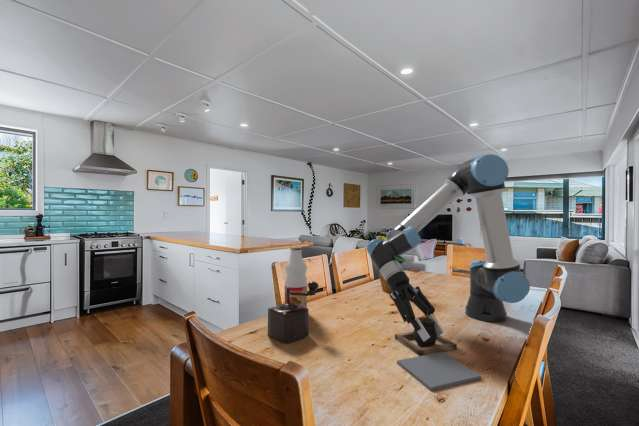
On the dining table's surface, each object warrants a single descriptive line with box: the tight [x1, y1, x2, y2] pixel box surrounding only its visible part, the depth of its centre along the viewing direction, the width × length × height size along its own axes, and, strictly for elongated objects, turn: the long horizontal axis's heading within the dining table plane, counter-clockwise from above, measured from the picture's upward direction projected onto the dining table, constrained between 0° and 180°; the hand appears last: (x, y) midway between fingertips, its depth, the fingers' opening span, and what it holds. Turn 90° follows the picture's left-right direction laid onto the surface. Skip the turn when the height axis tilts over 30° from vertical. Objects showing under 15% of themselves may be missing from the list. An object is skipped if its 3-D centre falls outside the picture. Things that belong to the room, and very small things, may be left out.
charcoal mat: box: [396, 352, 482, 392], centre depth 82 cm, size 16×14×1 cm
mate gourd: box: [412, 310, 437, 347], centre depth 99 cm, size 7×8×10 cm
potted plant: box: [373, 235, 407, 294], centre depth 165 cm, size 18×19×30 cm
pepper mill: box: [267, 281, 319, 345], centre depth 107 cm, size 16×11×18 cm
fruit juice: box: [284, 246, 308, 308], centre depth 128 cm, size 9×9×28 cm
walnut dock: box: [394, 331, 458, 356], centre depth 99 cm, size 14×13×2 cm
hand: (434, 336), depth 96 cm, fingers closed on mate gourd, 7 cm apart
